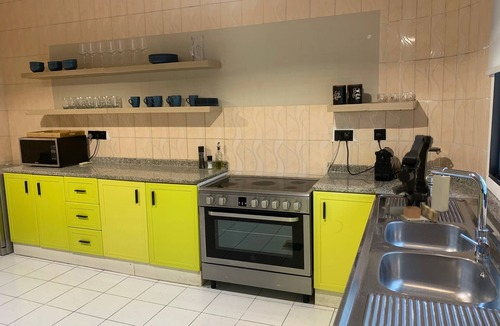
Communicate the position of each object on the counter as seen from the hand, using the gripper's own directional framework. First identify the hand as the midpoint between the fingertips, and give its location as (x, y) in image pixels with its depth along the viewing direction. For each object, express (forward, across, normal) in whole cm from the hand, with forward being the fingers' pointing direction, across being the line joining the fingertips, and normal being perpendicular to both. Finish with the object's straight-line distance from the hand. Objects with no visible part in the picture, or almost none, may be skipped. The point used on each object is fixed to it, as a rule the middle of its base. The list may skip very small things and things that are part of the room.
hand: (408, 209), depth 204 cm
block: (+2, +4, 0) cm, 5 cm away
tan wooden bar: (+2, +8, +7) cm, 11 cm away
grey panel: (+3, -1, 0) cm, 3 cm away
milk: (+3, -8, +21) cm, 23 cm away
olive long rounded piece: (+3, -1, -1) cm, 3 cm away
